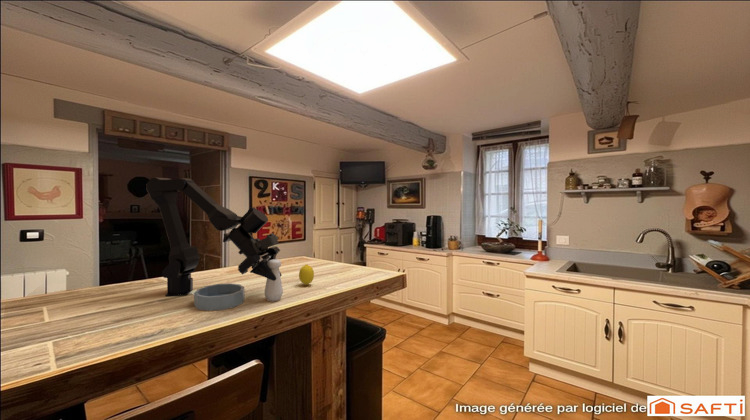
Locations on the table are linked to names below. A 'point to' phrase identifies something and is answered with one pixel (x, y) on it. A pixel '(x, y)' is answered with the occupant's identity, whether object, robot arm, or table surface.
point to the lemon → (306, 274)
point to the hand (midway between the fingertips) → (278, 278)
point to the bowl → (219, 297)
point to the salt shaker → (274, 282)
